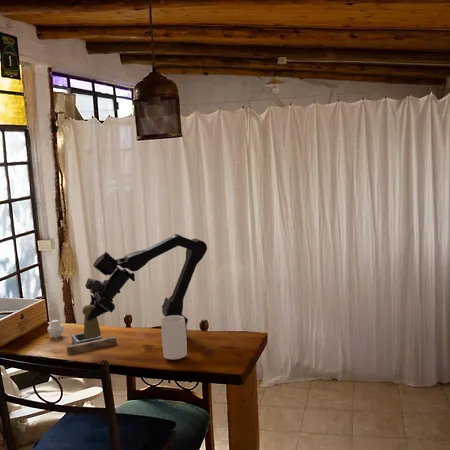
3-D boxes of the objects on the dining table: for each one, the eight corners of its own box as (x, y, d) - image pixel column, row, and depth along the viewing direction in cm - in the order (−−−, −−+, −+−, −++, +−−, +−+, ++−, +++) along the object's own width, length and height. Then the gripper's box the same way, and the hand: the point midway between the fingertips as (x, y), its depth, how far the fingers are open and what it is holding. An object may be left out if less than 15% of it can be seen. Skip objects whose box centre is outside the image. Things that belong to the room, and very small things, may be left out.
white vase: (62, 338, 217) (60, 321, 216) (46, 339, 217) (44, 322, 216) (66, 333, 223) (64, 316, 223) (50, 334, 223) (49, 317, 222)
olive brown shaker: (94, 338, 194) (91, 308, 193) (80, 337, 197) (77, 307, 195) (104, 333, 200) (101, 303, 198) (90, 331, 202) (87, 302, 201)
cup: (174, 352, 197) (171, 313, 195) (192, 356, 192) (190, 316, 190) (158, 360, 190) (155, 320, 188) (176, 364, 185) (174, 323, 183)
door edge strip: (115, 342, 210) (114, 336, 210) (116, 343, 208) (116, 337, 208) (67, 352, 201) (66, 346, 201) (68, 354, 200) (67, 347, 199)
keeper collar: (95, 336, 218) (95, 330, 217) (102, 343, 210) (101, 336, 209) (72, 341, 213) (71, 335, 213) (77, 348, 205) (77, 341, 205)
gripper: (93, 265, 205) (65, 298, 203) (102, 274, 188) (72, 311, 185) (116, 283, 209) (89, 316, 207) (127, 294, 192) (97, 330, 189)
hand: (86, 318), depth 197 cm, fingers closed on olive brown shaker, 5 cm apart
